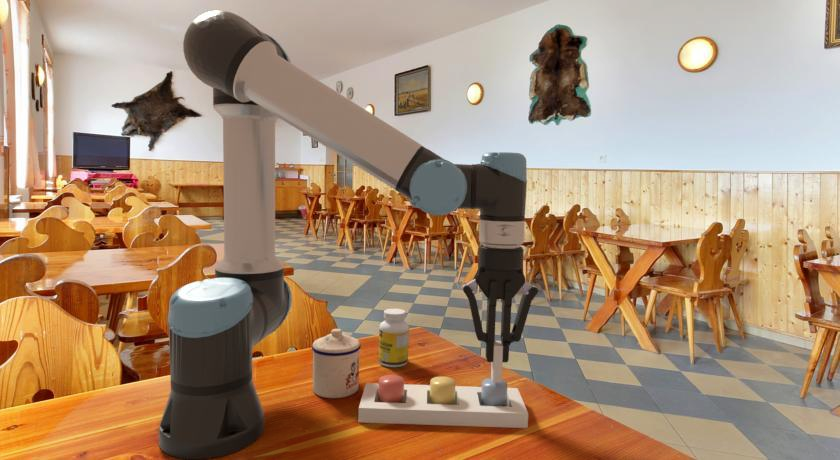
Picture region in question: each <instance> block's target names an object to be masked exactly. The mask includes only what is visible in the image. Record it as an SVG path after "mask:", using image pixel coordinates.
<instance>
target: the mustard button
mask: <svg viewBox="0 0 840 460" xmlns="http://www.w3.org/2000/svg"><path fill="white" fill-rule="evenodd" d="M429 382H430V383H429V385H430V403H431V404H444V405H454V403H455V386H457V384H456V383H457V382H456V380H455V379H454V378H451V377H449V376H434V377H433V378H431V379H430V381H429Z"/></svg>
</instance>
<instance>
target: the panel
mask: <svg viewBox="0 0 840 460" xmlns="http://www.w3.org/2000/svg"><path fill="white" fill-rule="evenodd" d="M481 393H482V386H469V385H468V386H464V385H459V386H458V385H456V386H455V403H454V405H444V404H431V403H430V384H405V383H404V400H403V402H402V403H385V402H379V400H378V394H379V382H378V383H377V382H375V383H374V382H365V385H364V389H363V392H362V396H361V398H360V402H359V406H358V417H357V418H358V421H357V423H370V424H392V425H394V424H397V425H399V424H400V425H401V424H402V425H425V426H427V425H428V426H431V425H432V426H452V427H455V426H456V427H457V426H458V427H484V428H485V427H486V428H508V429H509V428H514V429H517V428H518V429H528V428H529V427H528V426H529V412H528V410H527V407H526V404H525V403H524V400H523V398H522V396H521V393H520V390H519V389H518V387H507V405H506V406H505V407H502V406H484V405H482V403H481Z"/></svg>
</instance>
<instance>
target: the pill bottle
mask: <svg viewBox="0 0 840 460" xmlns="http://www.w3.org/2000/svg"><path fill="white" fill-rule="evenodd" d="M383 318H384V320H383V321H382V322H381V323H380V324H379V331H378V333H379V336H378V363H379V364H380V365H381V366H384V367H387V368H400V367H404V366H405V365H407V364H408V361H409V343H410V341H409V340H410V339H409V338H410V326H409V324H408V322H407V321H406V320H405V319H406V310H405V309H401V308H387V309H384V311H383Z"/></svg>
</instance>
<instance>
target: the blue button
mask: <svg viewBox="0 0 840 460" xmlns="http://www.w3.org/2000/svg"><path fill="white" fill-rule="evenodd" d="M508 385H509V384H508V383H507V381H505V380H504V379H502V383H493V381H492V378H491V377H490V378H484V379H483V380H482V381H481V387H482V393H481V403H482V405H484V406H502V407H506V405H507V388H508Z"/></svg>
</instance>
